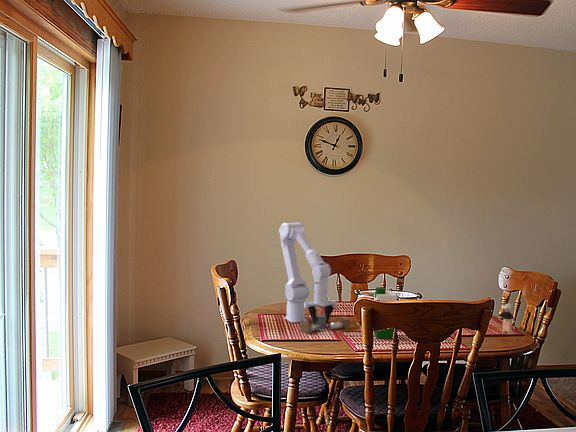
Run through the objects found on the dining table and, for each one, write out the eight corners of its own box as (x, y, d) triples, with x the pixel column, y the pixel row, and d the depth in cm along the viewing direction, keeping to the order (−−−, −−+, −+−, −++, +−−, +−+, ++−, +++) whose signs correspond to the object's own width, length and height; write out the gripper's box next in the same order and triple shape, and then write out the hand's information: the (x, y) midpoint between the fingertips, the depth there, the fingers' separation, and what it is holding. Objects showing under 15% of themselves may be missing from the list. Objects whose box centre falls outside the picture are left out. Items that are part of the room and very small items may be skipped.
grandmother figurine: (517, 334, 246) (518, 304, 245) (513, 335, 243) (514, 305, 242) (499, 330, 251) (500, 301, 251) (495, 331, 249) (496, 302, 248)
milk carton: (371, 333, 242) (373, 285, 240) (393, 333, 242) (394, 286, 241) (374, 339, 233) (376, 290, 232) (397, 339, 233) (399, 290, 232)
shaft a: (332, 330, 245) (333, 320, 244) (328, 327, 249) (328, 317, 249) (349, 329, 247) (349, 319, 247) (344, 326, 252) (344, 316, 252)
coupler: (313, 326, 252) (314, 314, 251) (322, 325, 253) (323, 314, 253) (317, 328, 248) (317, 317, 247) (326, 328, 249) (326, 316, 249)
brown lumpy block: (313, 328, 247) (313, 318, 247) (321, 331, 243) (321, 321, 243) (300, 331, 242) (300, 321, 242) (307, 334, 238) (308, 323, 238)
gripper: (308, 294, 243) (307, 326, 244) (340, 293, 248) (339, 324, 249) (302, 291, 250) (301, 322, 251) (333, 290, 255) (332, 320, 255)
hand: (320, 323), depth 250 cm, fingers open, 5 cm apart
